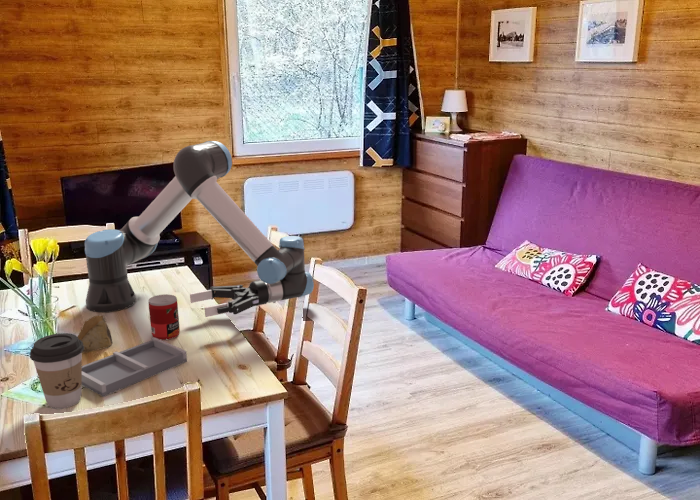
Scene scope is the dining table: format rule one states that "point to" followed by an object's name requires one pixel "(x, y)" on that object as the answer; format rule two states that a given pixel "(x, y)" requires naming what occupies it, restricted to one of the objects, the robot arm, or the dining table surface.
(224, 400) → the dining table surface
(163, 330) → the canned food
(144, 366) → the tray
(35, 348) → the coffee cup
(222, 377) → the dining table surface
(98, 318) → the rock
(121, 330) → the dining table surface
